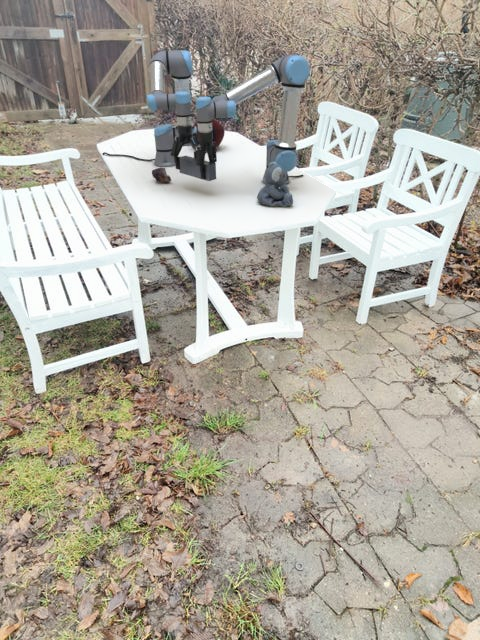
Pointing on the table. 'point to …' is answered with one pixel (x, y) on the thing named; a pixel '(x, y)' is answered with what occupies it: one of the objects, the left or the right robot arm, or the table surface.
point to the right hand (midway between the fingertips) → (207, 177)
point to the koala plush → (275, 188)
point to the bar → (197, 168)
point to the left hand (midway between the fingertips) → (187, 166)
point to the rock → (161, 175)
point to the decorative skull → (215, 132)
